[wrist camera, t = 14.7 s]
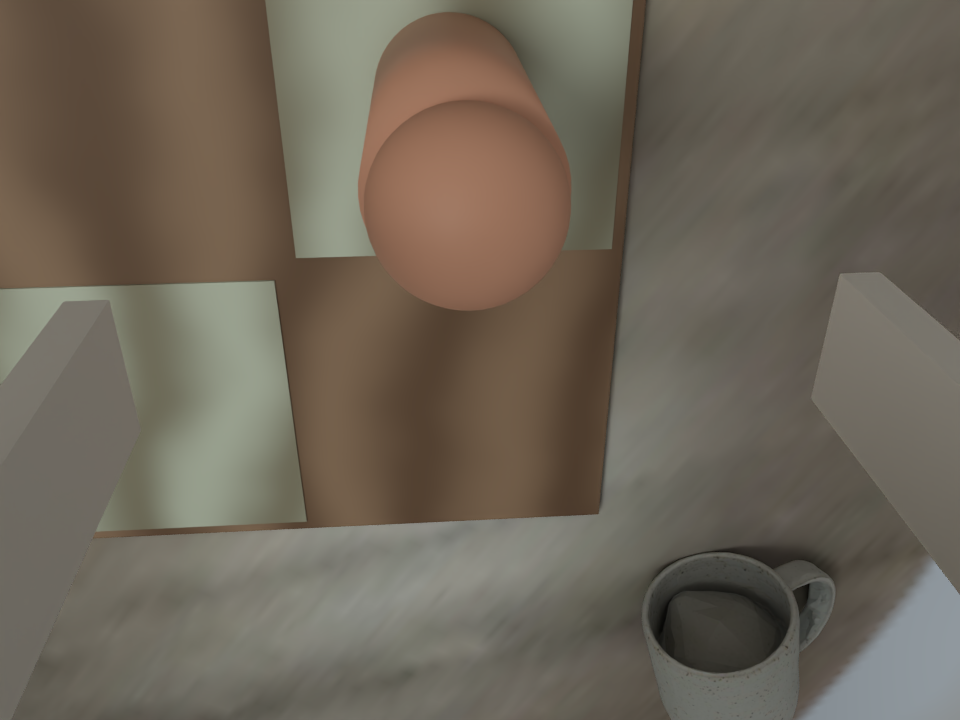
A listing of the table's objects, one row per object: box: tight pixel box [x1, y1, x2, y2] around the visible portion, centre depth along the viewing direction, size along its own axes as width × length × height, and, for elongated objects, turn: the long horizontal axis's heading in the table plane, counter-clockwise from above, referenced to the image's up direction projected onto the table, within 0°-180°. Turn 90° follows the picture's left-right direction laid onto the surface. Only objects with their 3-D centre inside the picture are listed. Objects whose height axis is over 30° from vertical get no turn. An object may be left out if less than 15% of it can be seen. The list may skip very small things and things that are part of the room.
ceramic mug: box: [641, 552, 835, 720], centre depth 45 cm, size 11×8×8 cm
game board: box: [0, 0, 646, 538], centre depth 35 cm, size 28×28×1 cm
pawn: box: [358, 12, 571, 311], centre depth 26 cm, size 6×6×15 cm
